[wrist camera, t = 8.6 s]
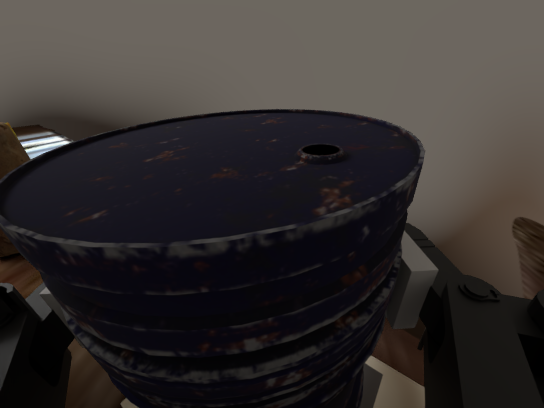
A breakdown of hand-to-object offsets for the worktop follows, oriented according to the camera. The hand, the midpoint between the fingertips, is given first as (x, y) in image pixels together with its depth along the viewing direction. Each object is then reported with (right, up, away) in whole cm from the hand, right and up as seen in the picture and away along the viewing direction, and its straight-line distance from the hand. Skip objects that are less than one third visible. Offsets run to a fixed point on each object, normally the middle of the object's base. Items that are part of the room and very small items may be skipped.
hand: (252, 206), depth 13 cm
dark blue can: (+1, -11, +1) cm, 11 cm away
